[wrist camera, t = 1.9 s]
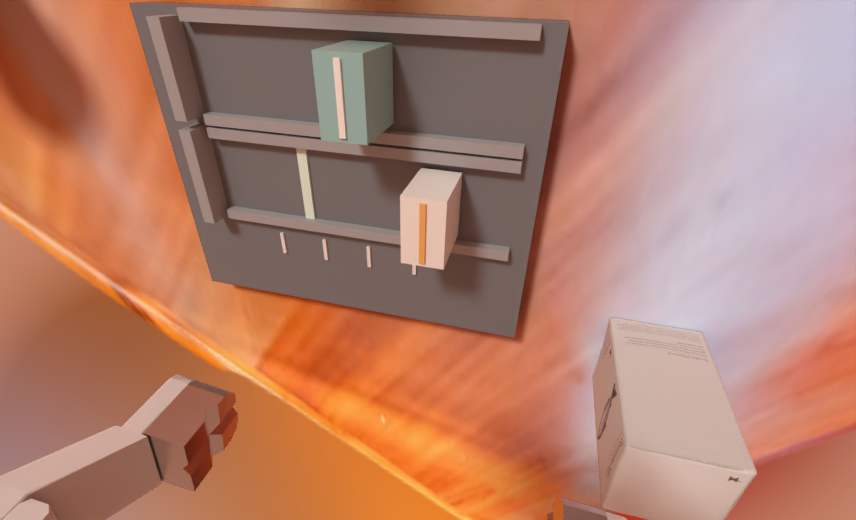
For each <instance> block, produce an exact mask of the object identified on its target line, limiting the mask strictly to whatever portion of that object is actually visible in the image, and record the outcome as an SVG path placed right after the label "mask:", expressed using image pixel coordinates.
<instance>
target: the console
mask: <svg viewBox="0 0 856 520" xmlns="http://www.w3.org/2000/svg"><path fill="white" fill-rule="evenodd" d="M129 4H130V7H131V10H132V14H133V17H134V20H135V24H136V27H137V30H138V34H139V37H140V40H141V44H142V47H143V50H144V54H145V57H146V60H147V64H148V67H149V70H150V74H151V77H152V80H153V84H154V87H155V90H156V94H157V97H158V100H159V104H160V107H161V111H162V114H163V117H164V121H165V124H166V127H167V131H168V134H169V137H170V141H171V144H172V147H173V151H174V154H175V157H176V161H177V164H178V167H179V171H180V174H181V177H182V181H183V184H184V187H185V191H186V194H187V197H188V201H189V204H190V207H191V211H192V214H193V217H194V221H195V224H196V227H197V231H198V234H199V237H200V241H201V244H202V247H203V251H204V254H205V257H206V261H207V264H208V267H209V271H210V274H211V278H212V281H217V282H222V283H227V284H232V285H238V286H243V287H248V288H253V289H259V290H264V291H269V292H275V293H280V294H285V295H290V296H296V297H301V298H306V299H312V300H317V301H322V302H327V303H333V304H338V305H343V306H349V307H354V308H359V309H364V310H370V311H375V312H380V313H386V314H391V315H396V316H401V317H407V318H412V319H417V320H423V321H428V322H433V323H438V324H444V325H449V326H454V327H460V328H465V329H470V330H475V331H481V332H486V333H491V334H497V335H502V336H507V337H512V338H515V332H516V326H517V320H518V315H519V309H520V303H521V298H522V292H523V286H524V281H525V275H526V269H527V264H528V258H529V252H530V246H531V241H532V235H533V229H534V224H535V218H536V212H537V207H538V201H539V195H540V189H541V184H542V178H543V172H544V167H545V161H546V155H547V150H548V144H549V138H550V133H551V127H552V121H553V115H554V110H555V104H556V98H557V93H558V87H559V81H560V76H561V70H562V64H563V58H564V53H565V47H566V41H567V36H568V30H569V24H570V22H569V21H567V20H545V19H523V18H501V17H479V16H457V15H434V14H412V13H390V12H368V11H346V10H324V9H302V8H280V7H257V6H235V5H213V4H191V3H169V2H135V3H129ZM346 40H356V41H373V42H389V43H392V53H393V106H394V123H393V124H392V125H391V126H390V127H389V128H387V129H386V130H385V131H384V132H383V133H381V134H380V135H379V136H378V137H377V138H376V139H374V140H373V141H372V142H371V143H370V144H368V145H360V144H351V143H342V142H332V141H323V140H321V134H320V125H319V116H318V107H317V98H316V89H315V80H314V71H313V62H312V53H311V50H313V49H317V48H321V47H324V46H328V45H331V44H335V43H339V42H342V41H346ZM421 168H426V169H435V170H443V171H452V172H460V173H462V184H461V198H460V213H459V227H458V236H457V238H456V241H455V243H454V245H453V248H452V250H451V253H450V255H449V258H448V260H447V262H446V265H445V267H444V270H442V269H436V268H430V267H423V266H417V265H411V264H405V263H401V234H400V195H401V194H402V193H403V191H404V190H405V189H406V187H407V186H408V185H409V183H410V182H411V181H412V179H413V178H414V177H415V175H416V174H417V173H418V171H419V170H420V169H421Z"/></svg>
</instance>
